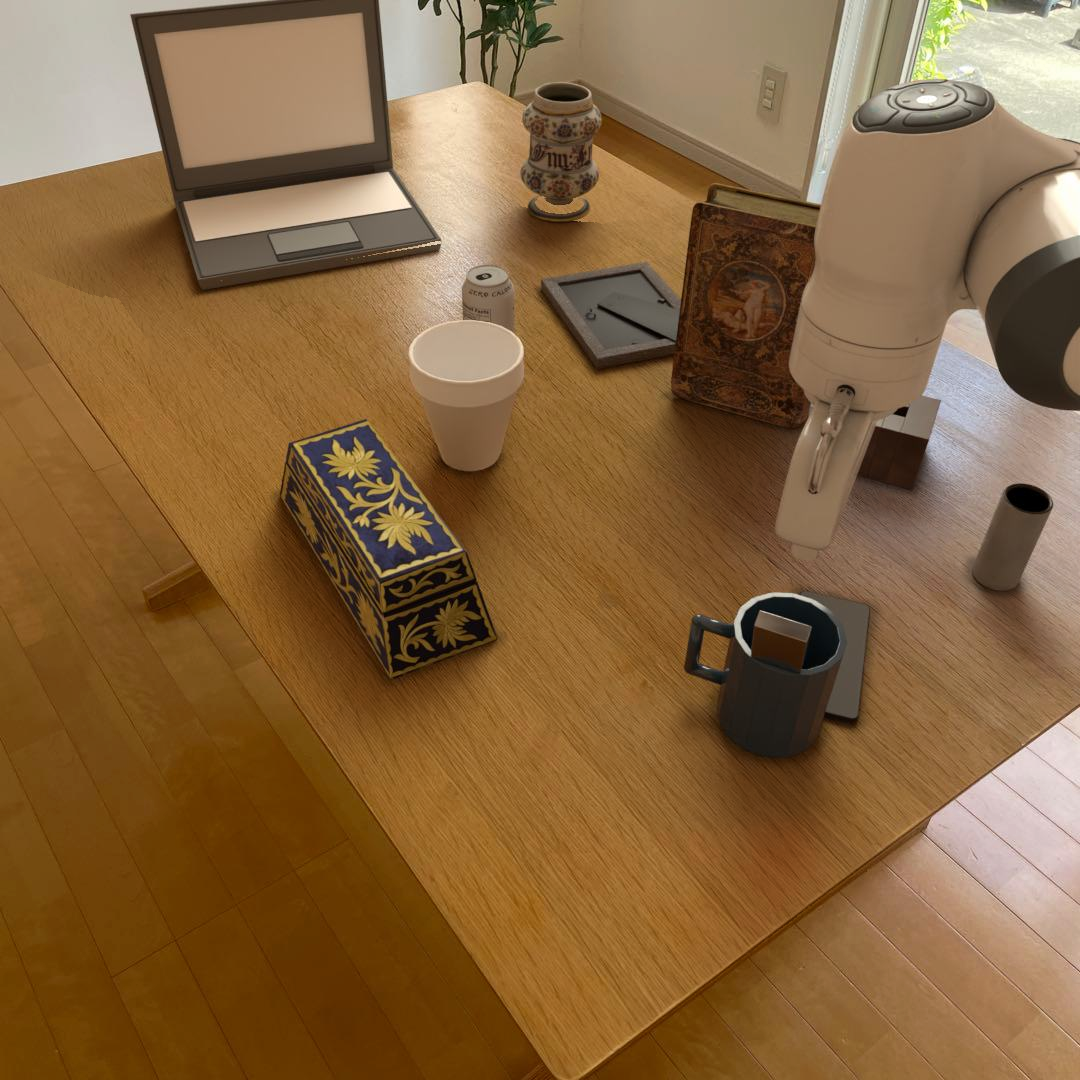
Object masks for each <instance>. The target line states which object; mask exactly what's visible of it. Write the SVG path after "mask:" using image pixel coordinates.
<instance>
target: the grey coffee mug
mask: <svg viewBox="0 0 1080 1080" xmlns="http://www.w3.org/2000/svg"><path fill="white" fill-rule="evenodd" d="M760 610H761V611H764V612H767V613H770V614H773V615H777V616H780V617H783V618H786V619H789V620H792V621H796V622H799V623H802V624H805V625H808V626H811V627H812V629H811V634H810V638H809V643H808V648H807V652H806V657H805V660H804V663H803V666H802V669H801V672H800V673H799V672H796V671H793V670H790V669H787V668H783V667H780V666H777V665H774V664H771V663H768V662H766V661H763V660H760V659H757V658H754V657H751V650H752V641H753V632H754V624H755V622H756V619H757V616H758V614H759V611H760ZM690 622H691V623H690V627H689V628H690V629H689V634H688V641H687V645H686V646H687V647H686V652H685V660H684V665H683V669H684V672H685V673H686V674H688V675H690V676H693V677H695V678H699V679H701V680H705V681H707V682H710V683H713V684H716V685H719V690H718V695H717V700H716V701H717V706H716V709H717V710H716V713H717V719H718V722H719V724H720V726H721V729H722V730H723V732H724V733H725V735H726V736H727V737H728V738H729V739H730V740H731V741H732V742H734V744H736V745H737V746H739V747H740V748H742V749H744V750H745V751H747V752H749V753H752V754H753V755H757V756H760V757H766V758H772V759H773V758H774V759H777V758H778V759H779V758H789V757H793V756H796V755H798V754H800V753H802V752H804V751H806V750H807V749H808V748H810V747H811V746H812V745H813V744H814V743H815V741H816V740H817V738H818V736H819V733H820V730H821V727H822V724H823V722H824V718H825V717H824V715H825V712H826V708H827V705H828V702H829V699H830V696H831V693H832V689H833V686H834V683H835V680H836V677H837V674H838V671H839V667H840V664H841V661H842V658H843V655H844V652H845V649H846V645H847V639H846V635H845V631H844V627H843V625H842V624H841V622H840V621H839V620H838V619H837V617H836V616H835V615H834V613H833V612H832V611H831V610H830V609H828V608H826V607H825V606H823V605H822V604H820V603H819V602H817V601H816V600H814V599H811V598H808V597H804V596H801V595H799V594H797V593H794V592H779V591H778V592H776V591H774V592H773V591H772V592H767V593H765V594H760V595H757V596H753V597H752V598H750V599H749V600H748V601H746V602H745V603H744V604H742V605H741V606H740V607H739V608H738V610H737V613H736V616H735V617H734V619H733V621H732V622H733V623H729V622H726V621H722V620H719V619H716V618H713V617H710V616H707V615H704V614H700V613H697V614H694V615H693V616H692V618H691V621H690ZM705 632H707V633H711V634H714V635H717V636H719V637H723V638H725V639H728V640H729V642H728V647H727V652H726V657H725V662H724V666H723V670H720V669H718V668H715V667H712V666H709V665H705V664H702V663H701V662H700V658H701V652H702V647H703V641H704V635H705Z"/></svg>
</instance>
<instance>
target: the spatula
mask: <svg viewBox="0 0 1080 1080" xmlns="http://www.w3.org/2000/svg"><path fill="white" fill-rule="evenodd" d="M811 629H812V627H811V626H808V625H805V624H802V623H799V622H796V621H792V620H789V619H786V618H783V617H780V616H777V615H773V614H770V613H767V612H764V611H761V610H760V611H759V614H758V616H757V619H756V622H755V624H754V632H753V641H752V650H751V657H754V658H757V659H760V660H763V661H766V662H768V663H771V664H774V665H777V666H780V667H783V668H787V669H790V670H793V671H796V672H799V673H800V672H801V669H802V666H803V663H804V660H805V657H806V652H807V648H808V643H809V638H810V634H811Z"/></svg>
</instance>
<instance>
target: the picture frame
mask: <svg viewBox="0 0 1080 1080" xmlns="http://www.w3.org/2000/svg"><path fill="white" fill-rule="evenodd" d="M540 283H541V285H540V289H541V291H542V293H543V294H544V296H545V297H546V299H547V300H548V301H549V303H550V304H551V305H552V307H553V308H554V310H555V311H556V312H557V315H558V316H559V317H560V319H561V320H562V322H563V323H564V324H565V326H566V327H567V329H568V330H569V331H570V333H571V334H572V336H573V337H574V338H575V340H576V342H577V343H578V344H579V346H580V347H581V348H582V350H583V352H584V353H585V355H587V357H588V358H589V360H590V361H591V363H592V364H593V366H594V367H595V369H596V370H600V369H604V368H610V367H615V366H621V365H625V364H631V363H636V362H641V361H646V360H647V361H648V360H652V359H658V358H663V357H667V356H672V355H673V356H674V353H675V345H676V337H677V329H678V321H679V313H680V305H681V298H680V297H679V296H678V295H677V294H676V293H675V292H674V290H672V288H671V287H670V286H669V285H668V284H667V283H666V282H665V280H664V279H663V278H662V277H661V276H660V275H659V273H658V272H657V271H656V270H655V269H654V268H653V267H652V265H651V264H650V263H649V262H648V261H642V262H637V263H631V264H624V265H619V266H612V267H606V268H600V269H595V270H589V271H583V272H582V271H581V272H575V273H571V274H570V273H569V274H564V275H558V276H552V277H545V278H541V280H540Z"/></svg>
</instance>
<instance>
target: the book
mask: <svg viewBox="0 0 1080 1080" xmlns="http://www.w3.org/2000/svg"><path fill="white" fill-rule="evenodd" d="M820 207H821V203H815V202H811V201H806V200H801V199H797V198H792V197H786V196H781V195H776V194H772V193H767V192H762V191H758V190H752V189H747V188H744V187H743V188H742V187H738V186H733V185H727V184H723V183H719V182H714V183H712V184H710V186H709V187H708V189H707V195H706V200H705V201H703V200H702V201H701V200H700V201H699V200H698V201H697V202H696V203H695V204H694V205H693V207H692V211H691V218H690V226H689V234H688V242H687V251H686V259H685V264H684V265H685V266H684V274H683V282H682V290H681V298H680V300H681V305H680V313H679V321H678V329H677V337H676V345H675V353H674V355H673V360H672V361H673V362H672V369H671V379H670V390H671V393H672V395H673V396H675V397H676V398H680V399H683V400H686V401H690V402H692V403H696V404H699V405H703V406H706V407H709V408H713V409H717V410H720V411H724V412H727V413H731V414H734V415H739V416H742V417H746V418H749V419H754V420H756V421H761V422H765V423H768V424H770V425H775V426H778V427H782V428H785V429H788V430H789V429H790V430H794V429H798V428H800V427H802V426H804V425H805V424H806V421H807V419H808V417H809V415H810V411H811V410H810V409H811V405H812V403H811V402H810V401H809V400H808V399H807V397H806V396H805V393H804V390H803V388H802V387H800V386H799V385H798V383H797V382H796V381H795V380H794V378H793V377H792V375H791V373H790V369H789V358H790V353H791V348H792V343H793V338H794V334H795V328H796V323H797V318H798V313H799V308H800V304H801V298H802V294H803V291H804V289H805V287H806V285H807V283H808V281H809V279H810V278H811V276H812V273H813V271H814V267H815V259H816V255H815V247H814V235H815V229H816V225H817V220H818V215H819V211H820Z"/></svg>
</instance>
